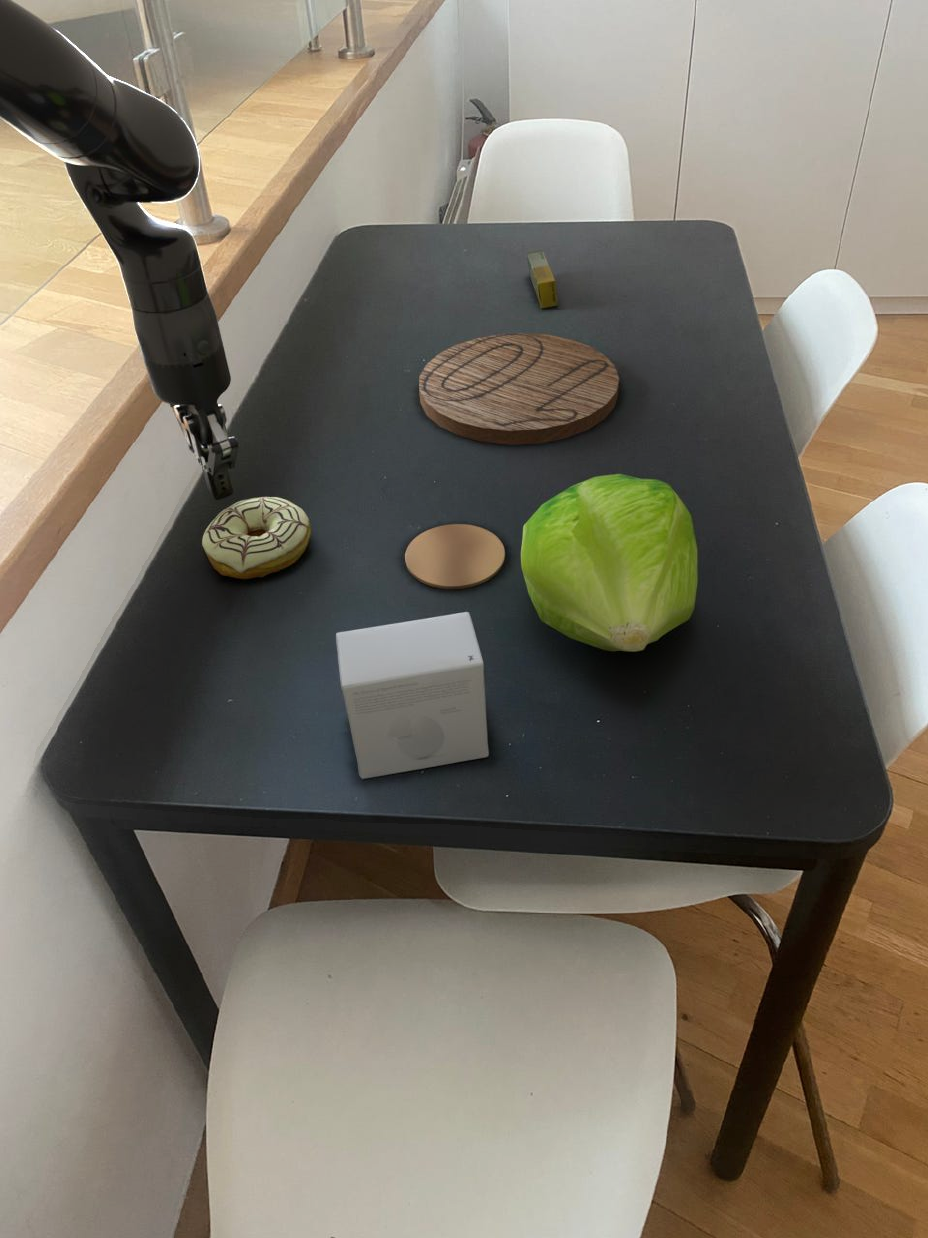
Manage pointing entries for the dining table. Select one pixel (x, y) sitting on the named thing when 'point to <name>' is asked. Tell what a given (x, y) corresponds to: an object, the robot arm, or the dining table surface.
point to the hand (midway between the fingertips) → (221, 494)
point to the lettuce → (612, 562)
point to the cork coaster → (455, 556)
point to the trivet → (518, 388)
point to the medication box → (542, 279)
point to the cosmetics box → (414, 694)
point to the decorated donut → (256, 537)
